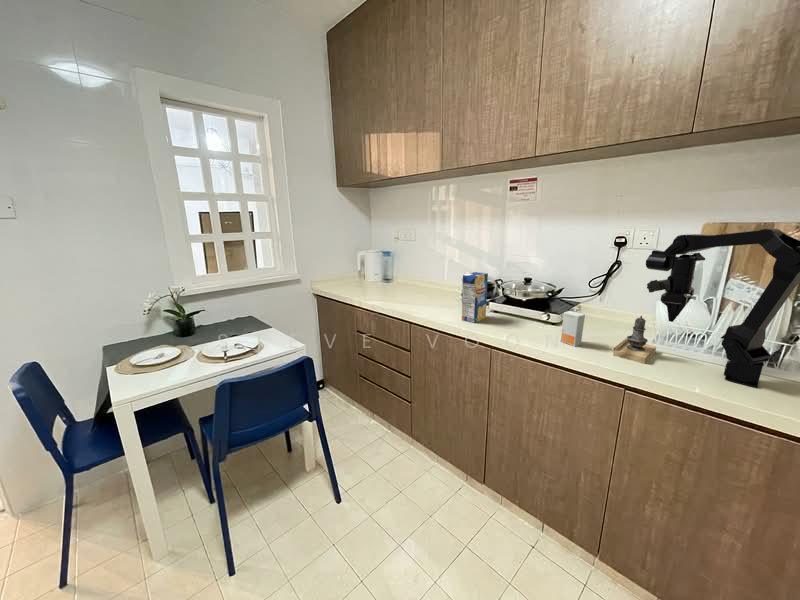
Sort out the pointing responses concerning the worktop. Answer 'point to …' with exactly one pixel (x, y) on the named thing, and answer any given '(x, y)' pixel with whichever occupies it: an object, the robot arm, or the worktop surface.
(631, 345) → the salt shaker
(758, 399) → the worktop surface
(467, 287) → the beverage box
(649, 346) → the dock
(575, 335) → the skincare box
